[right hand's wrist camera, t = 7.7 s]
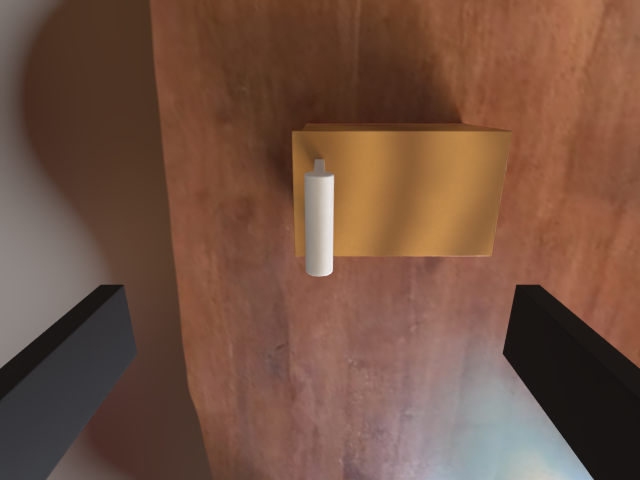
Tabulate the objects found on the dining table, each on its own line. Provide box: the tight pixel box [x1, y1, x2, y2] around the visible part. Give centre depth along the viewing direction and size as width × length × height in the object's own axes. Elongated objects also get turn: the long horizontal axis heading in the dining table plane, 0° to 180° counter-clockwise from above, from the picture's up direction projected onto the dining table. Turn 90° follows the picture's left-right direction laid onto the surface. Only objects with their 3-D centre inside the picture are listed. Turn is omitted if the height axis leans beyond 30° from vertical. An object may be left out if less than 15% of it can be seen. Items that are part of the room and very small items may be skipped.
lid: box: [292, 130, 512, 276], centre depth 26 cm, size 16×10×9 cm, turn 90°
